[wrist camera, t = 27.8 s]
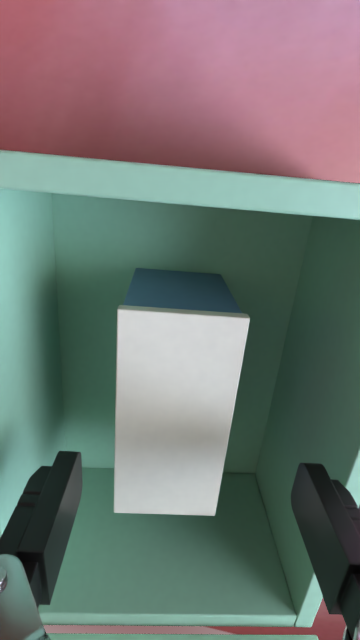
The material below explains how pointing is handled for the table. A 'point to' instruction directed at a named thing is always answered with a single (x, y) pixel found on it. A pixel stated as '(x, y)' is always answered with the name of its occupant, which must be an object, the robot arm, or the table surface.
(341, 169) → the table surface
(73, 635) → the lid
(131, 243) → the box
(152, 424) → the snack box
